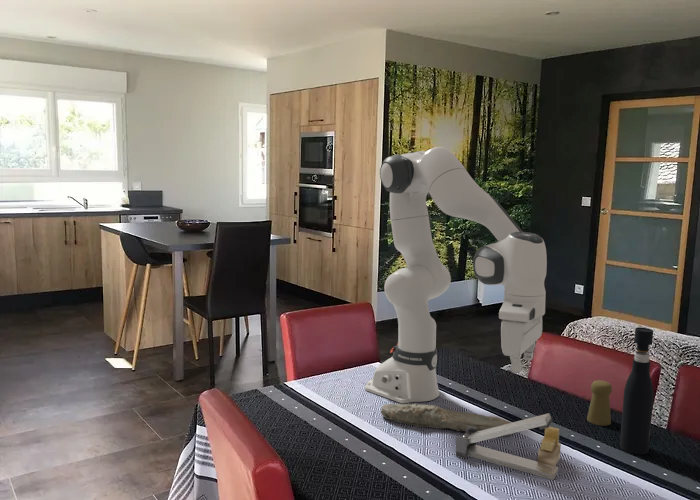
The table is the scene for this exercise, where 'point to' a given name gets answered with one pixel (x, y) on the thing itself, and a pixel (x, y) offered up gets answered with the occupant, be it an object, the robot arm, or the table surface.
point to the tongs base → (503, 458)
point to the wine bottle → (638, 398)
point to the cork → (600, 403)
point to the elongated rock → (438, 417)
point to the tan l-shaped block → (550, 439)
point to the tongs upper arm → (509, 428)
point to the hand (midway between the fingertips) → (522, 365)
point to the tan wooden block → (549, 455)
